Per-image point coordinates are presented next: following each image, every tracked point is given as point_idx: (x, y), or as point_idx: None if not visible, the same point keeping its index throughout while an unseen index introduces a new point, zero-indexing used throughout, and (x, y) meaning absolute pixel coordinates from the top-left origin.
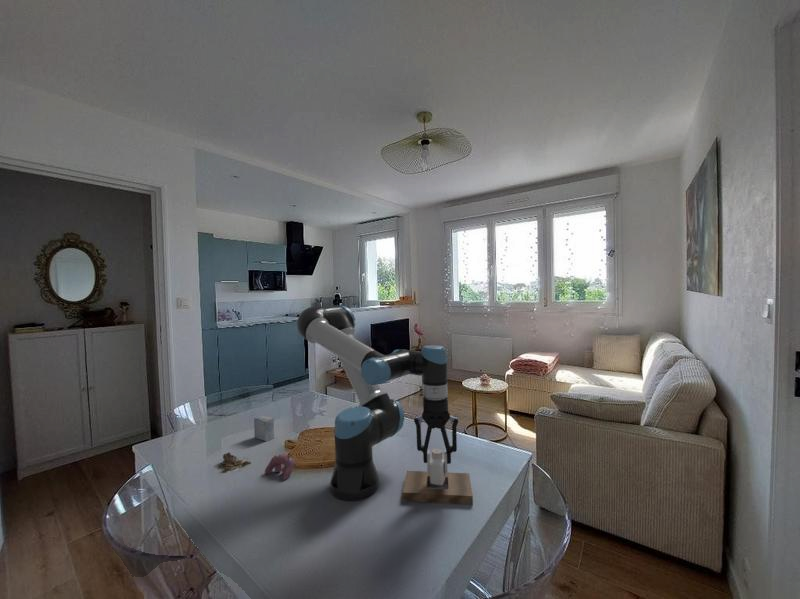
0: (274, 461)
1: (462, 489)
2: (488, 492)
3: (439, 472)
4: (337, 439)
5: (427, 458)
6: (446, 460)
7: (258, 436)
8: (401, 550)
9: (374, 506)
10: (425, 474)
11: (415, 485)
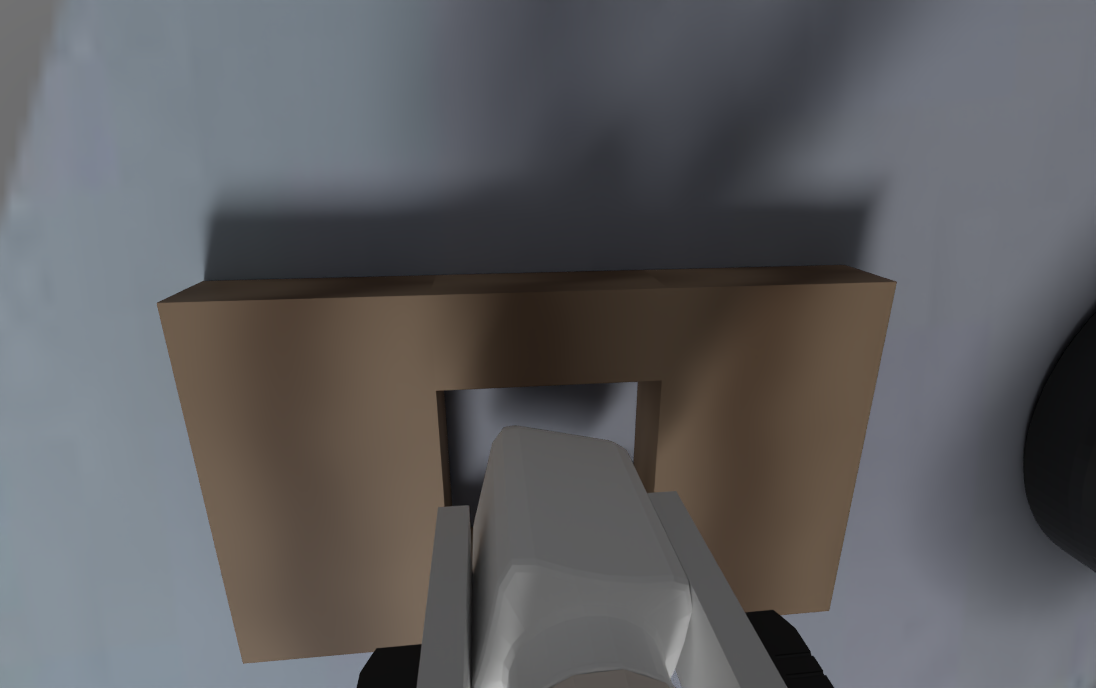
0: None
1: (284, 405)
2: (75, 481)
3: (539, 504)
4: None
5: (766, 663)
6: (428, 677)
7: None
8: None
9: (1083, 162)
10: None
11: (765, 407)
